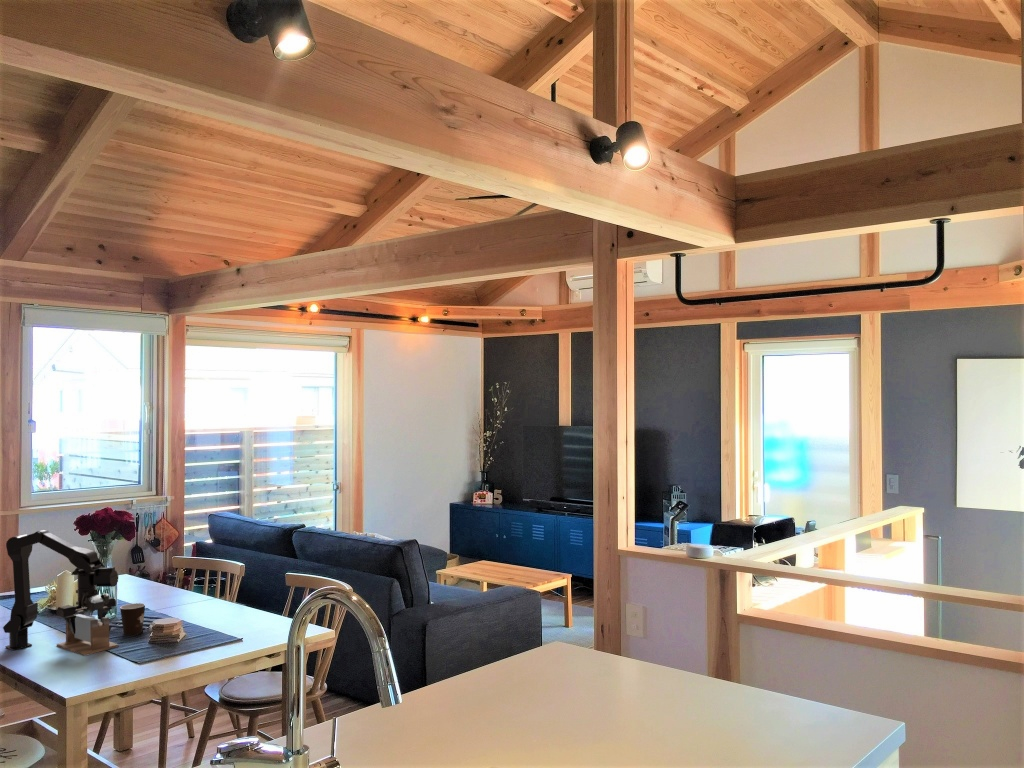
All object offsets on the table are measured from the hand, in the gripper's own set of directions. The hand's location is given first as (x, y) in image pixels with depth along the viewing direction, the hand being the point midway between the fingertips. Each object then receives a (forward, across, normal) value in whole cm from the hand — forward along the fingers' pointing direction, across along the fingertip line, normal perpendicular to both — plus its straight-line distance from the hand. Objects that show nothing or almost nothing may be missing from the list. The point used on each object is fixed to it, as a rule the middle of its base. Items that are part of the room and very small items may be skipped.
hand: (87, 630), depth 296 cm
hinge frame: (+6, 0, 0) cm, 6 cm away
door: (+3, 0, 0) cm, 3 cm away
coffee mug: (+6, +20, +3) cm, 21 cm away
